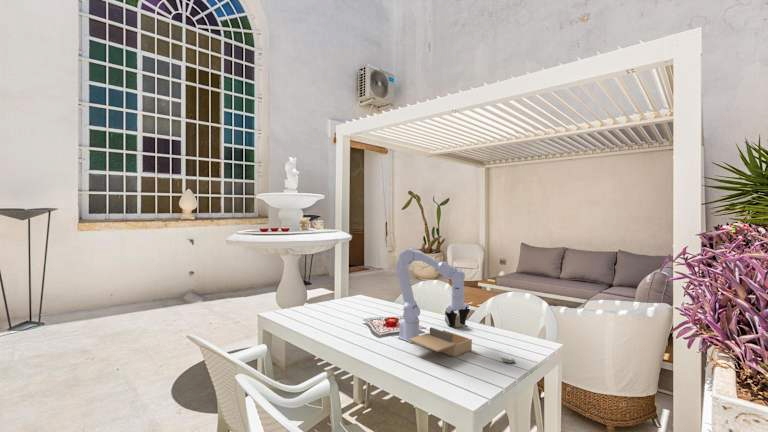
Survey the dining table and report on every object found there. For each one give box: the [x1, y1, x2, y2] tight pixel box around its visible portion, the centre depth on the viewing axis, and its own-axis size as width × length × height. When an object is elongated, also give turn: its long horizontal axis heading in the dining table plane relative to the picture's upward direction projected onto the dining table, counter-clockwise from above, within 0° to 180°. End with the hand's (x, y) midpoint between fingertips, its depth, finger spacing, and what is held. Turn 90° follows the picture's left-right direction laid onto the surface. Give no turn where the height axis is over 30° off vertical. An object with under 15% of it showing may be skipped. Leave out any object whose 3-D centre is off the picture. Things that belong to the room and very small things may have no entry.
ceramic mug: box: [444, 311, 466, 329], centre depth 195 cm, size 11×8×8 cm
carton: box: [439, 330, 473, 358], centre depth 162 cm, size 16×12×5 cm
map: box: [500, 356, 515, 364], centre depth 156 cm, size 5×20×1 cm, turn 170°
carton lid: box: [408, 326, 457, 353], centre depth 155 cm, size 17×13×4 cm
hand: (457, 325), depth 166 cm, fingers open, 7 cm apart
